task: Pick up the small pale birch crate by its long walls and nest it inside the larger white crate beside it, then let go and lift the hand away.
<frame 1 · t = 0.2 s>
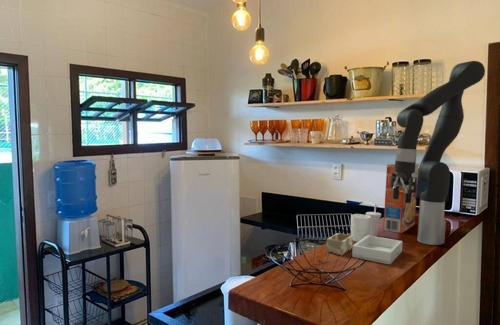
hand: (401, 200, 155), 17 cm above the countertop, tool pointing down, fingers open, 8 cm apart
smoothie: (372, 236, 168), on the countertop
white cup: (359, 240, 160), on the countertop
birch crate: (339, 250, 146), on the countertop
white crate: (377, 254, 142), on the countertop
orange cereal box: (399, 227, 185), on the countertop
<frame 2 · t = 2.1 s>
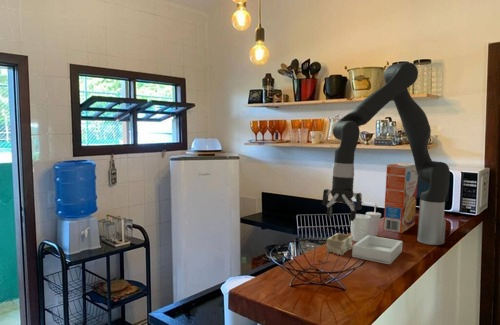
hand: (340, 218, 145), 12 cm above the countertop, tool pointing down, fingers open, 8 cm apart
nothing on the countertop moved.
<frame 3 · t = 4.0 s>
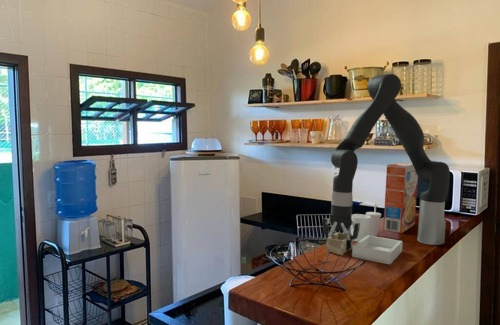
hand: (339, 247, 146), 1 cm above the countertop, tool pointing down, fingers closed on birch crate, 6 cm apart
birch crate: (339, 249, 146), on the countertop, touching gripper
everything else where it was.
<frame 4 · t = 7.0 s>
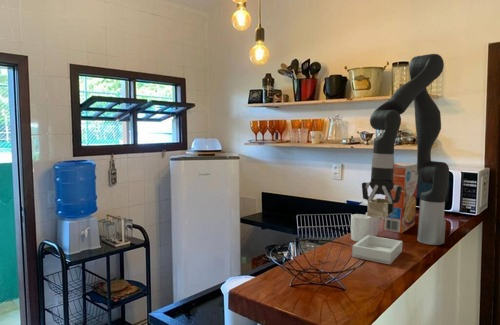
hand: (380, 212, 141), 15 cm above the countertop, tool pointing down, fingers closed on birch crate, 6 cm apart
birch crate: (379, 214, 141), point 15 cm above the countertop, touching gripper
everything else where it was.
when the fingers open (4 cm above the countertop, at t = 10.0 s): birch crate drops 2 cm, resting on white crate.
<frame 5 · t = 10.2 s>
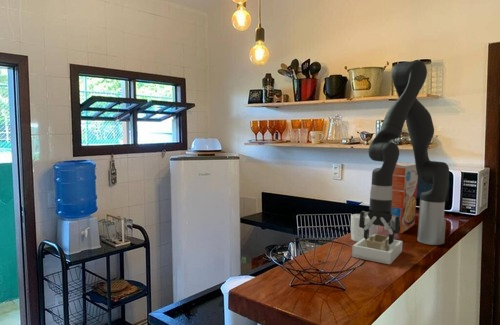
hand: (378, 241, 142), 5 cm above the countertop, tool pointing down, fingers open, 8 cm apart
birch crate: (377, 251, 142), point 1 cm above the countertop, touching white crate
everything else where it was.
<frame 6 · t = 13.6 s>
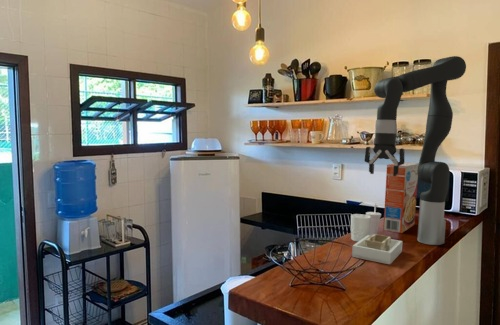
hand: (383, 174, 149), 28 cm above the countertop, tool pointing down, fingers open, 8 cm apart
nothing on the countertop moved.
at the end: birch crate 0.0 cm off-centre on the white crate, point 0.8 cm above the white crate's base; birch crate tilted 0°; the gripper is holding nothing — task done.
